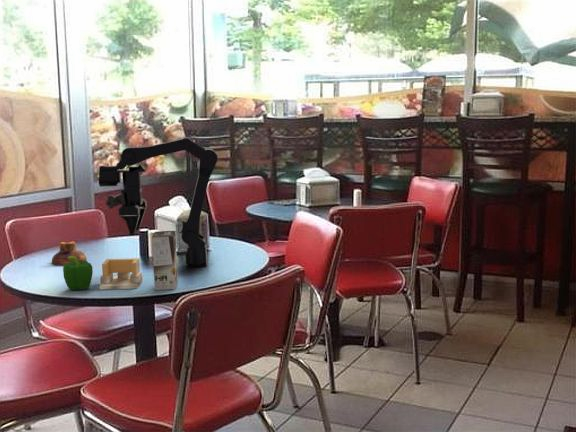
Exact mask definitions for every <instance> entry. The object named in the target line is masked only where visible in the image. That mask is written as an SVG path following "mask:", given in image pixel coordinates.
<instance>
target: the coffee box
mask: <svg viewBox="0 0 576 432" xmlns="http://www.w3.org/2000/svg"><path fill="white" fill-rule="evenodd" d="M151 242H152V243H151V244H152V263H153V264H152V265H153V268H152V269H153V282H154V283H153V285H154V290H155V291H163V290H164V291H165V290H175V289H176V288H177V286H178V283H179V279H178V277H179V276H178V275H179V274H178V257H177V255H178V254H177V235H176V230H161V231H154V233H153V234H152V236H151Z"/></svg>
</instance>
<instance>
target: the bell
mask: <svg viewBox="0 0 576 432" xmlns="http://www.w3.org/2000/svg"><path fill="white" fill-rule="evenodd" d="M70 256H71V257H76V258H77V259H78V262H82V261H87V256H86V255H85V253H84V252H82V251H81V250H78V249H77V247H76V242H75V241H70V242H65V241H62V242H60V243H59V251H57V252H56V253H55V254H54V255H53V256H52V258H51V264H53V265H55V266H64V264H66V263H72V262H74V260H73V259H71V260H69V259H68V257H70Z"/></svg>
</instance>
